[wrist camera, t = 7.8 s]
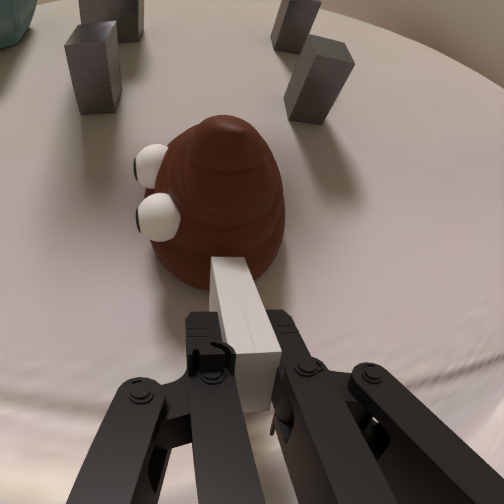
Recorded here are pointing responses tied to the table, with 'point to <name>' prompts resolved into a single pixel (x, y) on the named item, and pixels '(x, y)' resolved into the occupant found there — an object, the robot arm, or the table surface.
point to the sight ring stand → (93, 11)
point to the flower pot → (14, 20)
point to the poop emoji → (211, 199)
